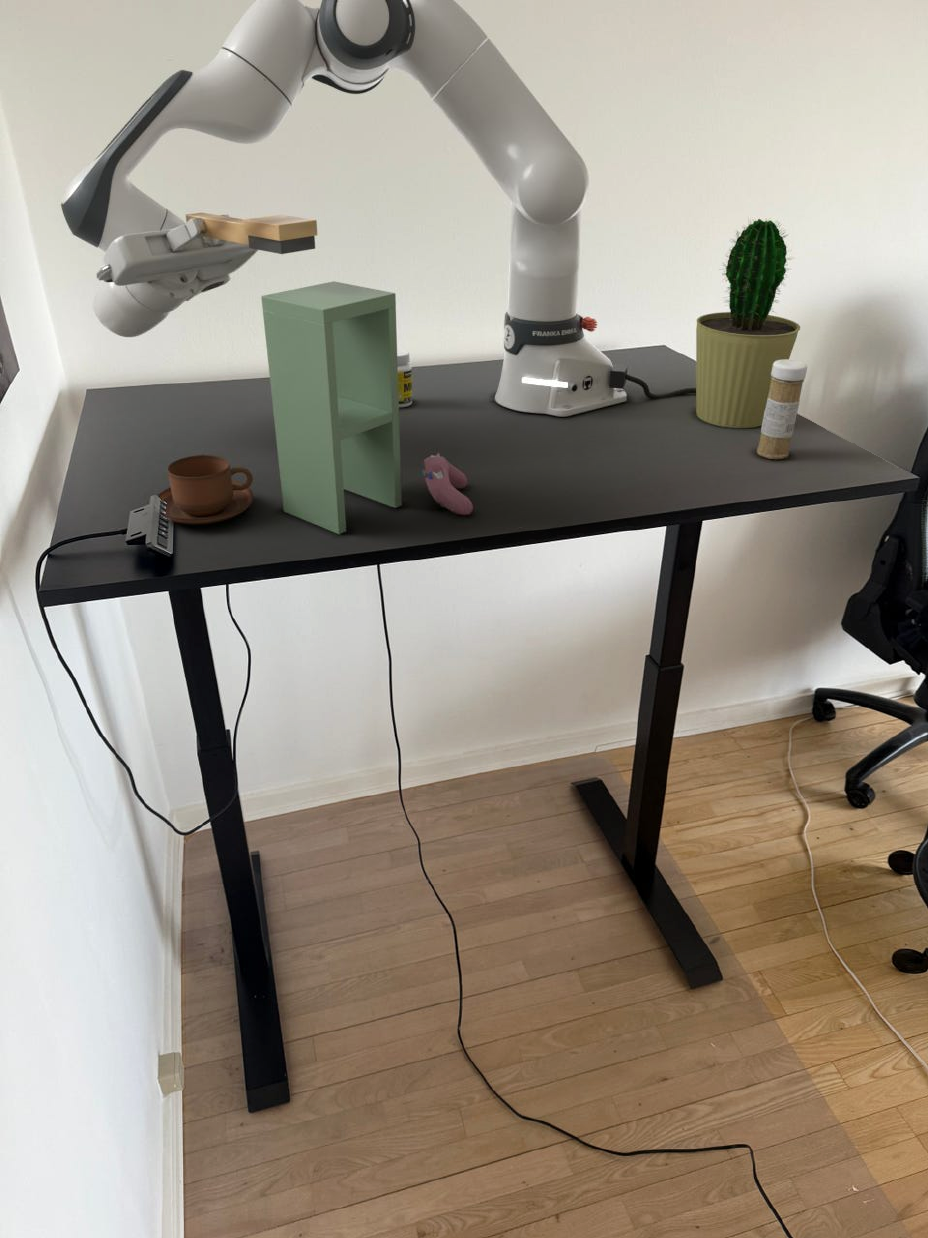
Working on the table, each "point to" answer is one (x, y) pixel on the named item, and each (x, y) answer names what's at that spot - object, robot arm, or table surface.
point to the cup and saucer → (205, 490)
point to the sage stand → (334, 398)
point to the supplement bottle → (404, 378)
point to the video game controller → (446, 485)
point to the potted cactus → (744, 333)
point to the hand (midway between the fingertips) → (213, 222)
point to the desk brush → (262, 231)
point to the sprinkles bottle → (781, 408)
